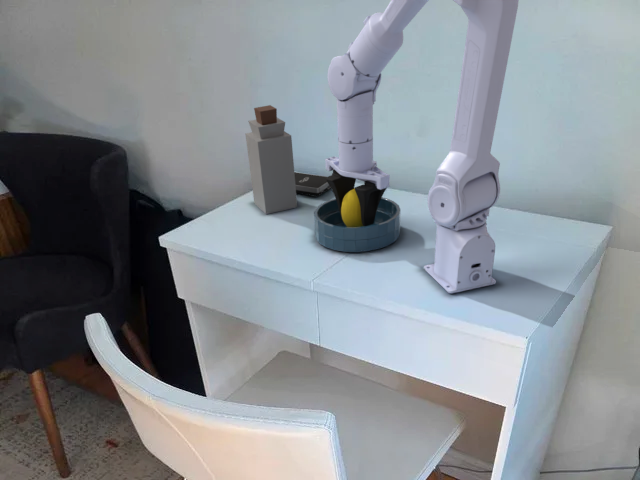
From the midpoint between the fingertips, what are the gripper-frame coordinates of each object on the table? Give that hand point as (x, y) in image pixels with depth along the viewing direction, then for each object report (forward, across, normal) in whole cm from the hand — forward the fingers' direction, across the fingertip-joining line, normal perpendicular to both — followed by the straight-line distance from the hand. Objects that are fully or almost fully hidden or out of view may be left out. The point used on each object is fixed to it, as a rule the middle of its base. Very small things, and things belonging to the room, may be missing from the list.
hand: (357, 219), depth 108 cm
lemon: (+2, 0, 0) cm, 2 cm away
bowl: (+3, 0, 0) cm, 3 cm away
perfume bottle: (+3, +23, +2) cm, 23 cm away
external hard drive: (+3, +26, -7) cm, 27 cm away
